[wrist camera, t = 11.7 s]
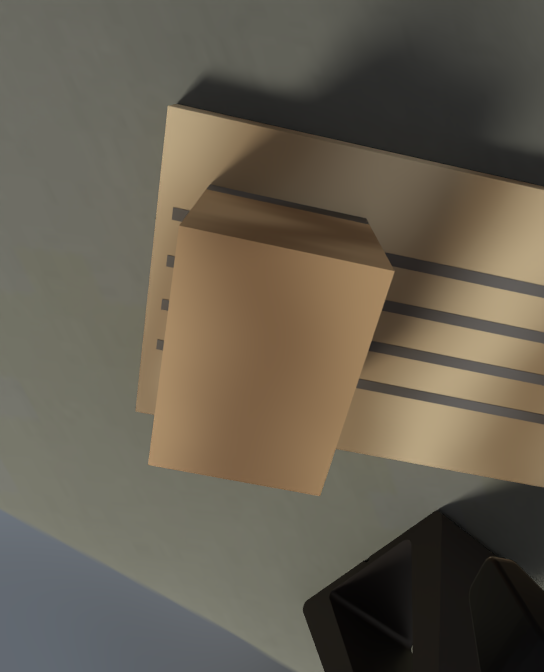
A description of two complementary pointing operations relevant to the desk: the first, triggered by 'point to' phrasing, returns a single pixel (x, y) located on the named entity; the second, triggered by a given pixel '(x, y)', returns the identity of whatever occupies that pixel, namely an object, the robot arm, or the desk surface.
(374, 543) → the desk surface
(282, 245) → the block
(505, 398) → the pine board
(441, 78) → the desk surface
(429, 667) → the phone stand
